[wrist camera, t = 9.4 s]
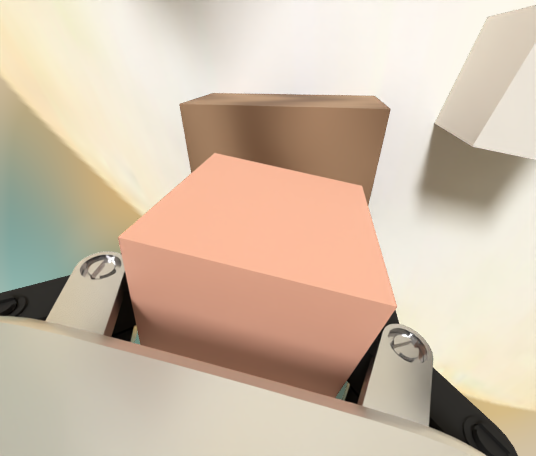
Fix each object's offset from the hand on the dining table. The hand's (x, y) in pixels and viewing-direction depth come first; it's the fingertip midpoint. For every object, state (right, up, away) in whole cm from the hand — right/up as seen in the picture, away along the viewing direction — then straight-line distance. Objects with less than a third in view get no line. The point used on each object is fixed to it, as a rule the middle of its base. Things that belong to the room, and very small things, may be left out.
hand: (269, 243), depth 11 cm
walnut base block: (+1, +5, +8) cm, 10 cm away
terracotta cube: (0, +1, +1) cm, 1 cm away
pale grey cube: (+13, +8, +3) cm, 15 cm away
